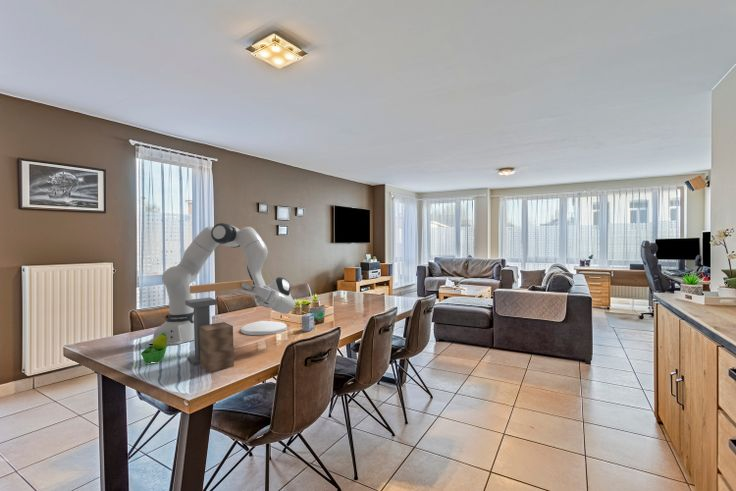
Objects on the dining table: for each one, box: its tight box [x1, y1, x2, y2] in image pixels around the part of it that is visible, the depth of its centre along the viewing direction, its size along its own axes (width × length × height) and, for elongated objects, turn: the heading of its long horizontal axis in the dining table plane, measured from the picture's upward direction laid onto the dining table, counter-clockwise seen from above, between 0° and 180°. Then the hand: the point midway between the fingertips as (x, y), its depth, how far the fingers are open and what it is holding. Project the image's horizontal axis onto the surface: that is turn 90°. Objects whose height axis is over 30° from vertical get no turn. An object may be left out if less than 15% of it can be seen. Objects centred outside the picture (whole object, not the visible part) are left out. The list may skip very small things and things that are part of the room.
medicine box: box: [301, 312, 315, 333], centre depth 202 cm, size 8×4×9 cm, turn 168°
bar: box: [189, 279, 253, 295], centre depth 155 cm, size 26×3×3 cm, turn 132°
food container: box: [308, 304, 327, 325], centre depth 218 cm, size 12×6×10 cm, turn 148°
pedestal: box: [199, 321, 235, 374], centre depth 146 cm, size 10×10×16 cm
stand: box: [185, 297, 218, 367], centre depth 153 cm, size 10×10×26 cm
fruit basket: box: [140, 334, 168, 364], centre depth 155 cm, size 11×9×11 cm
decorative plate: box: [240, 320, 288, 336], centre depth 205 cm, size 25×4×25 cm
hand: (239, 283), depth 160 cm, fingers closed on bar, 3 cm apart
